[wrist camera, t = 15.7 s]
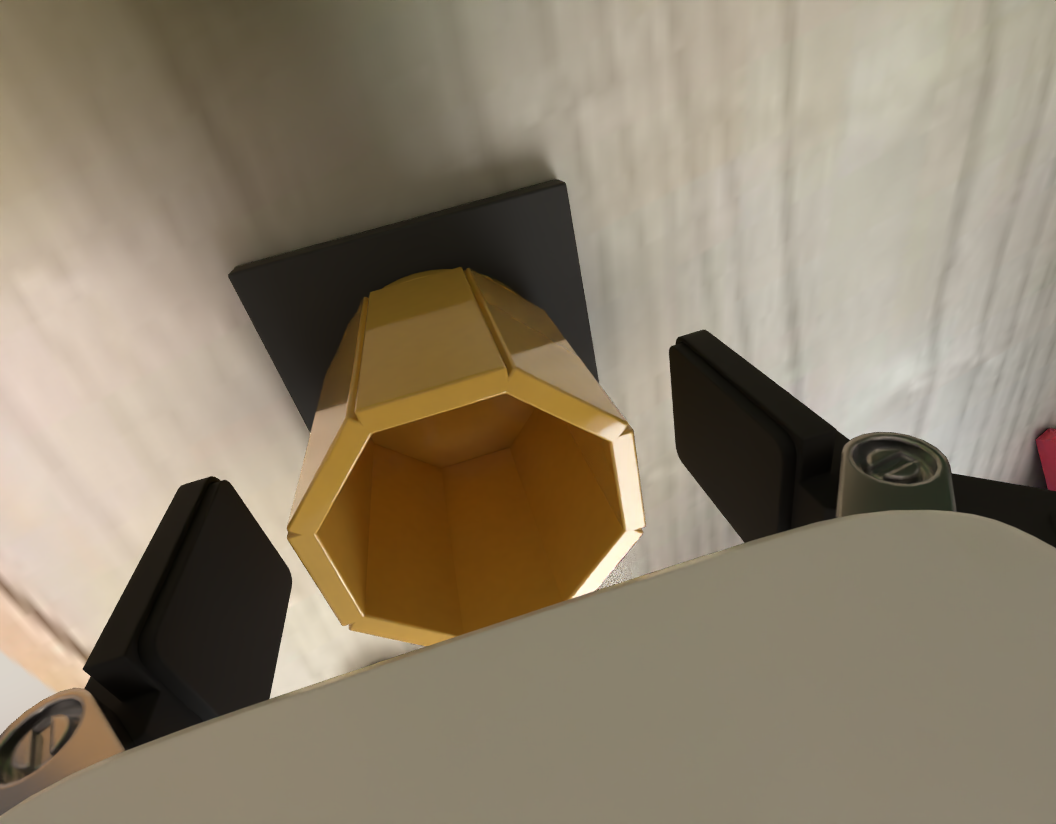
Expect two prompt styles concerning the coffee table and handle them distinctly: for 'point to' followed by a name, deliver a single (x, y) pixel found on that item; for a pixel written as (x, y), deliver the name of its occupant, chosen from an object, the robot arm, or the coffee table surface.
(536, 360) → the ceramic cup
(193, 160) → the coffee table surface
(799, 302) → the coffee table surface
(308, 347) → the plate
